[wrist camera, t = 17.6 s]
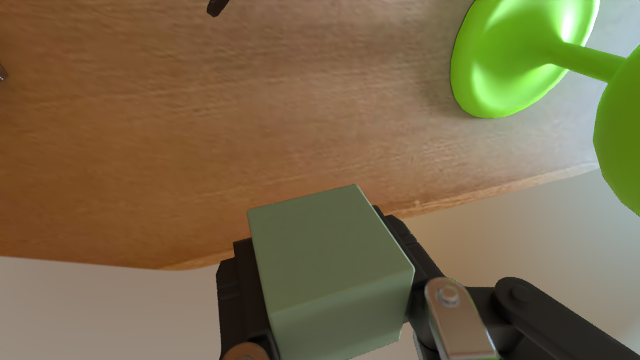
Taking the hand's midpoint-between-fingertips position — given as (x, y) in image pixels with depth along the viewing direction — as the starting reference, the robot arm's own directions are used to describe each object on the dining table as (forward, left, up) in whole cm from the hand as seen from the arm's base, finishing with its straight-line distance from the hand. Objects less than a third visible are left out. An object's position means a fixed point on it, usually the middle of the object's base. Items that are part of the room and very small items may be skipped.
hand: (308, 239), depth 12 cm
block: (0, 0, 0) cm, 0 cm away
